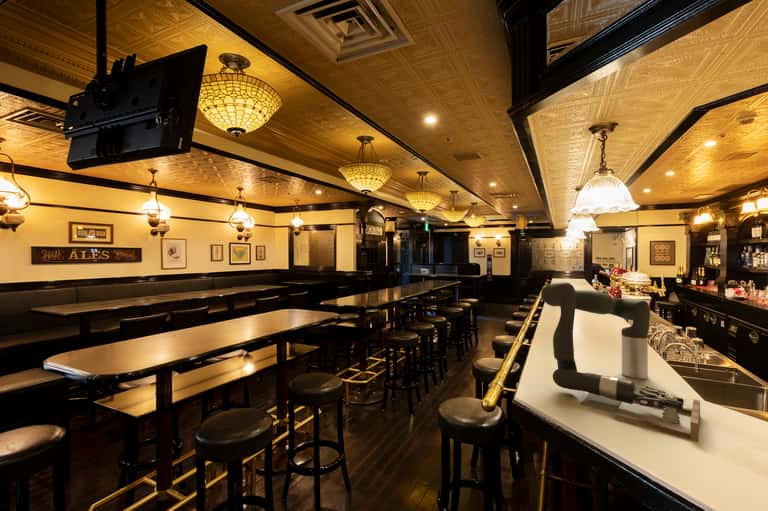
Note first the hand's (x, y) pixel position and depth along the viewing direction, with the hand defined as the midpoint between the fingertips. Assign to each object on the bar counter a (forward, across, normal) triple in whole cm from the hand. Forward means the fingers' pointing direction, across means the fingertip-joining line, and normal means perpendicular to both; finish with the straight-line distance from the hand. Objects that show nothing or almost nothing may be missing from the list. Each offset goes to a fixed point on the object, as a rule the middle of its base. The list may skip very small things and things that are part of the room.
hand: (682, 404), depth 106 cm
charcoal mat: (-22, 0, +6) cm, 23 cm away
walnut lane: (-7, 0, +6) cm, 9 cm away
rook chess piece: (-3, 0, +6) cm, 7 cm away
